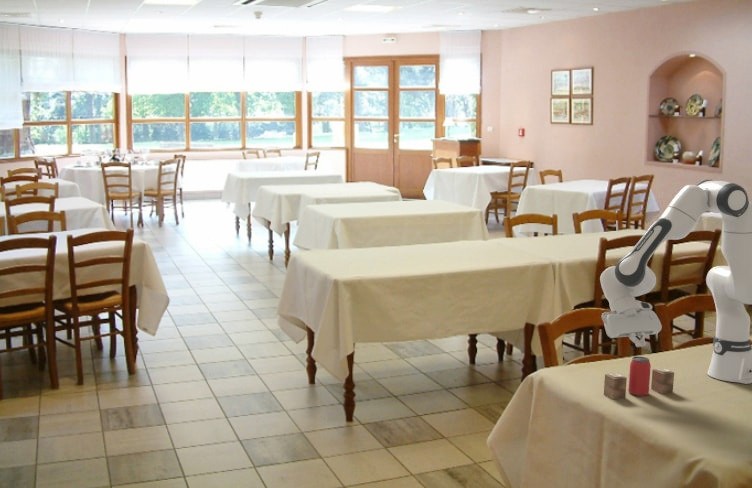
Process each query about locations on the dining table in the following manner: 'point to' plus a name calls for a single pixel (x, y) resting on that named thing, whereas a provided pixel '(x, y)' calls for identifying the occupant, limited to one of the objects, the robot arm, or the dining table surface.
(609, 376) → the walnut block
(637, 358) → the beer can
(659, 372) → the walnut block
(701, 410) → the dining table surface
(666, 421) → the dining table surface
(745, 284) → the robot arm
